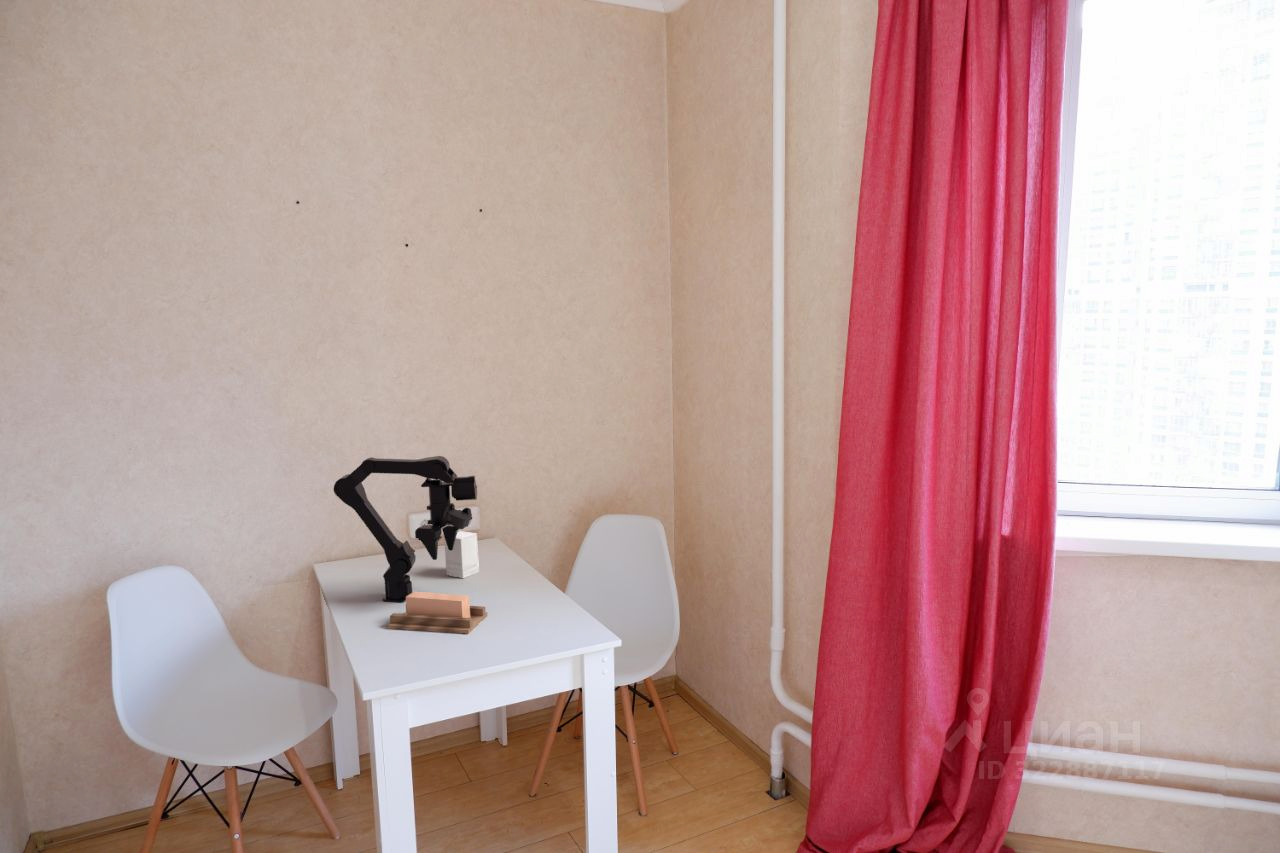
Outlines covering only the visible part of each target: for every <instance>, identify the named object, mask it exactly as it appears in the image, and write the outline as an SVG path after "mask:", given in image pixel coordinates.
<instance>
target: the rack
mask: <svg viewBox="0 0 1280 853" xmlns="http://www.w3.org/2000/svg"><path fill="white" fill-rule="evenodd" d="M488 613H489V612H488V611H487V612H486V606H482V605H481V606H480V605H477V606H476V605H470V618H462V617H445V616H428V615H412V614H407V608H406V607H405V612H404V613H396V612H395V613H391V614H390V615H389V621H390V623H389V624H387V629H388V630H401V629H406V631H416V630H417V631H419V632H431V631H432V632H434V633H447V634H448V632H449V634H462V633H465V635H468V634H470V633H471V632H472V631H473V630H474V629H476V628H477V627H478V626H479V623H480V622H481V621H482V622H483V621H484V620H485V619H486V618H487V617H488V615H489V614H488ZM482 622H481V623H482ZM481 623H480V624H481ZM432 632H431V633H432Z"/></svg>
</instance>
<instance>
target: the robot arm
mask: <svg viewBox="0 0 1280 853" xmlns="http://www.w3.org/2000/svg"><path fill="white" fill-rule="evenodd" d="M450 465H451V464H450V461H449V460H448V459H447V458H446V457H445V456H442V455H435V456H429V457H423V458H419V459H408V458H407V459H405V458H403V459H402V458H378V457H377V458H376V457H372V456H371V457H367V458H366V459H365V460H363V461H362V462H361V464H360V465H359V466H357V468H355V469H354V470H353V471H352V472H351V473H348V474H345V475H343V476H342V477H340V478H339V479H337V480H336V481H335V482H334V485H333V489H332V490H333V492H334V495H335V496H336V497H337V498H338V499H339V500H341V502H343V503H344V504H345V505H347V506H348V507H350V508H351V509H352V510H354V511H355V513H356V514H357V516H358V518H360V519H361V521H362V522H363V523H364V525H365V526H366V528H367V529H368V530H369V532H370V533H371V534H372V536H373V537H374V538H375V540H376V541H377V543H378V544H379V545H380V546H381V547H382V549H383V552H384V554H385V558H386V562H387V563H388V565H389V566H388V568H387V569H386V571H384V573H383V575H382V578H383V580H384V592H385V594H384V595H385V597H383V598H382V601H383V602H393V603H394V602H395V603H396V602H397V603H404V602H406V596H408V595H410V594H411V593H413V584H412V583H413V582H412V580H411V576H410V575H408V573H409V572H410V571H411V570H412V569H413V567H414V564H415V563H416V554H415V552H416V550H415V549H413V548H412V546H411V545H410V542H409V541H408V540H405V541H404V542H402V541H400V540H399V539H398V538H397V537H396V536H395V534H394V533H393V532H392V530H391V529H390V527H389V526H388V525H387V523H386V522H385V521H384V519H383V518H382V517H381V515H380V514H379V513H378V512H377V510H376V509H375V507H374V506H373V505H372V504H371V502H370V501H369V499H368V496H367V493H366V489H365V488H364V487H365V486H364V485H363V482H364V481H365V480H366V479H367V478H368V477H369V476H370V475H372V474H390V475H392V474H394V475H395V474H396V475H415V476H418V477H422V478H425V480H424V481H423V482H422V483H421V485H420V486H421V487H422V488H428V498H429V499H428V500H429V504H428V505H426V510H427V511H429V516H430V519H428V520H427V524H423V525H422V526H420V527H417V529H415V530H414V531H415V533H414V536H415V537H414V538H415V539H417V540H418V541H420V542H421V543H422V545H423V546H424V548H425V549H426V551H427V552H428V554H429V556H430V557H431V559H432V560H433V561H436V560H437V559H438V549H439V548H438V547H439V541H441V539H442V538H444V537H445V540H446V543H447V546H448V549H449V550H453V547H454V543H455V539H456V535H457V532H459V531H460V530H464V529H465V528H467V527H469V525H470V522H471V521H472V520H473V514H472V510H471V508H469V507H465V508H463V509H456V507H455V504H454V502H451V498H453V499H455V501H457V502H459V501H474V500H478V485H477V481H476V476H475V475H468V476H458V474H456V473H455V471H454V470H453V469H452V468H451V466H450ZM442 533H443V536H441V535H442Z"/></svg>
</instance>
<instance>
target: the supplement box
mask: <svg viewBox="0 0 1280 853" xmlns="http://www.w3.org/2000/svg"><path fill="white" fill-rule="evenodd" d="M443 538H444V540H443V541H444V552H445V553H444V554H445V568H446V569H445V570H446V576H448V575H449V577H454V578H458V577H459V578H458V579H465V578H469V577H470V576H473V575H475V574H479V573H480V567H479V566H480V565H479V563H480V560H479V548H478V547H479V546H478V544H479V543H478V533H476V532H471V531H470V532H469V531H463V530H458V532H457V535H456V539H455V543H454V547H453V550H449V549H448V546H447V543H446V540H445V537H444V536H443Z"/></svg>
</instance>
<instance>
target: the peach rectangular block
mask: <svg viewBox="0 0 1280 853" xmlns="http://www.w3.org/2000/svg"><path fill="white" fill-rule="evenodd" d="M470 606H471V603H470V595H465V594H464V595H463V594H450V593H449V594H448V593H437V592H425V591H423V592H421V591H412V593H411V594H410V595H408V596H406V600H405V609H406V608H407V614H412V615H428V616H445V617H462V618H470Z"/></svg>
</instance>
